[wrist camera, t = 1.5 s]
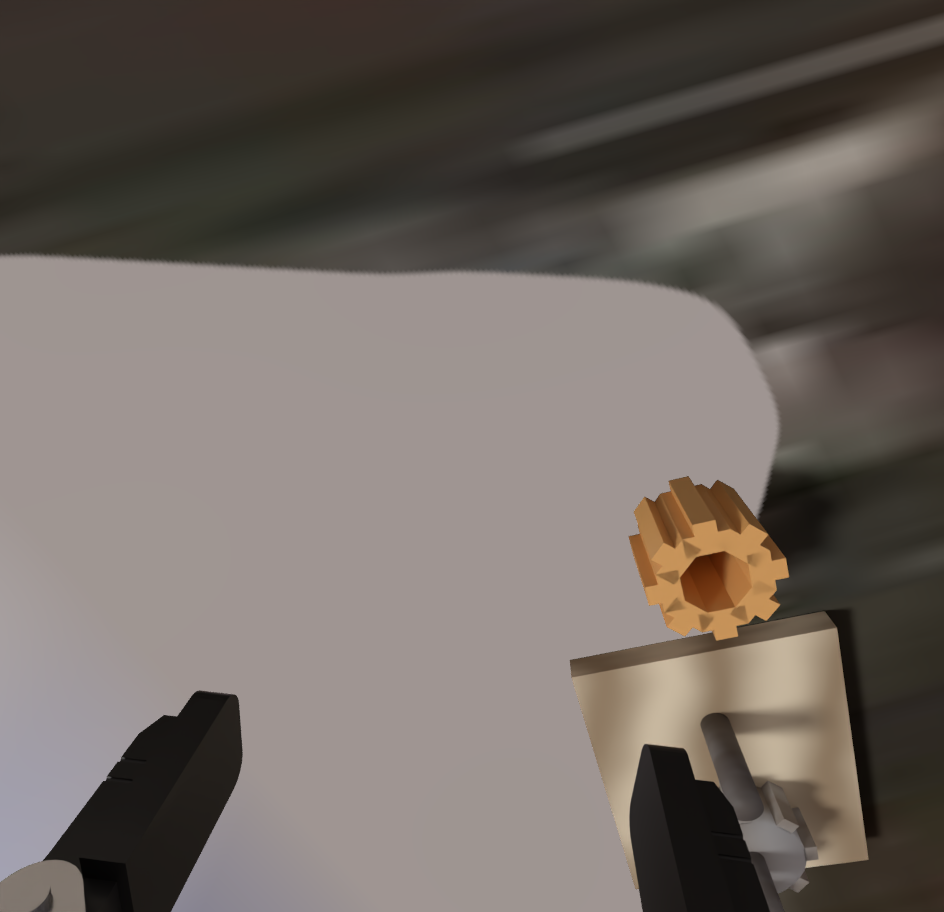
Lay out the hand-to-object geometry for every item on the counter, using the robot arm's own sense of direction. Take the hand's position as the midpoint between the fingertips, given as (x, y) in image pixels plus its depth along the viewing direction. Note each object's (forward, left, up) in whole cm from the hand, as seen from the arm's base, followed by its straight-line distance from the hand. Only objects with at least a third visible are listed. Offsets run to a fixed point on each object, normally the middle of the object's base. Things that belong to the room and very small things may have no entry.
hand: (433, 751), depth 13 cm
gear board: (-7, +23, -21) cm, 32 cm away
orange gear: (-8, +8, -21) cm, 24 cm away
